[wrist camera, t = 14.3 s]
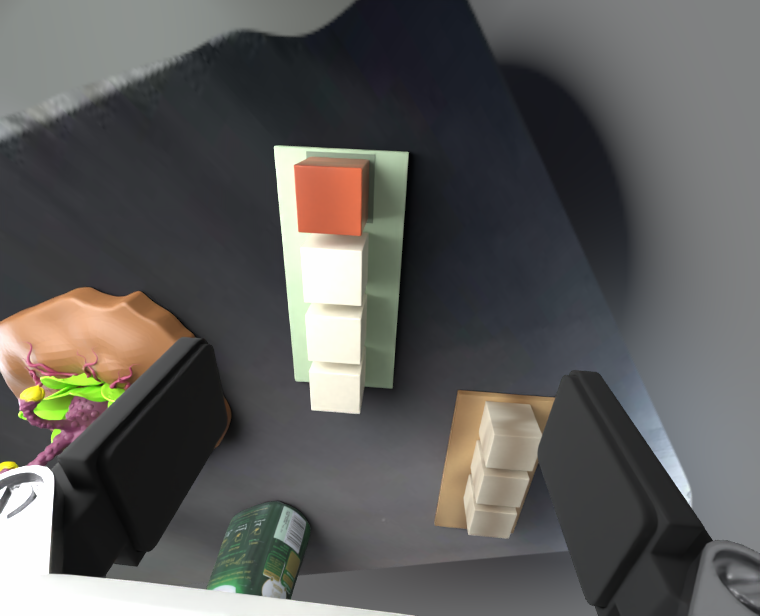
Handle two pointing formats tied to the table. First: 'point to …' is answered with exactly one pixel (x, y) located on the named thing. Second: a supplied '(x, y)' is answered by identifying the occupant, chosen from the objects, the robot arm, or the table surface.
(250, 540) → the coffee jar
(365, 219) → the orange wooden cube
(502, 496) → the word board
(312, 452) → the table surface
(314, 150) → the word board
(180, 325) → the plant
